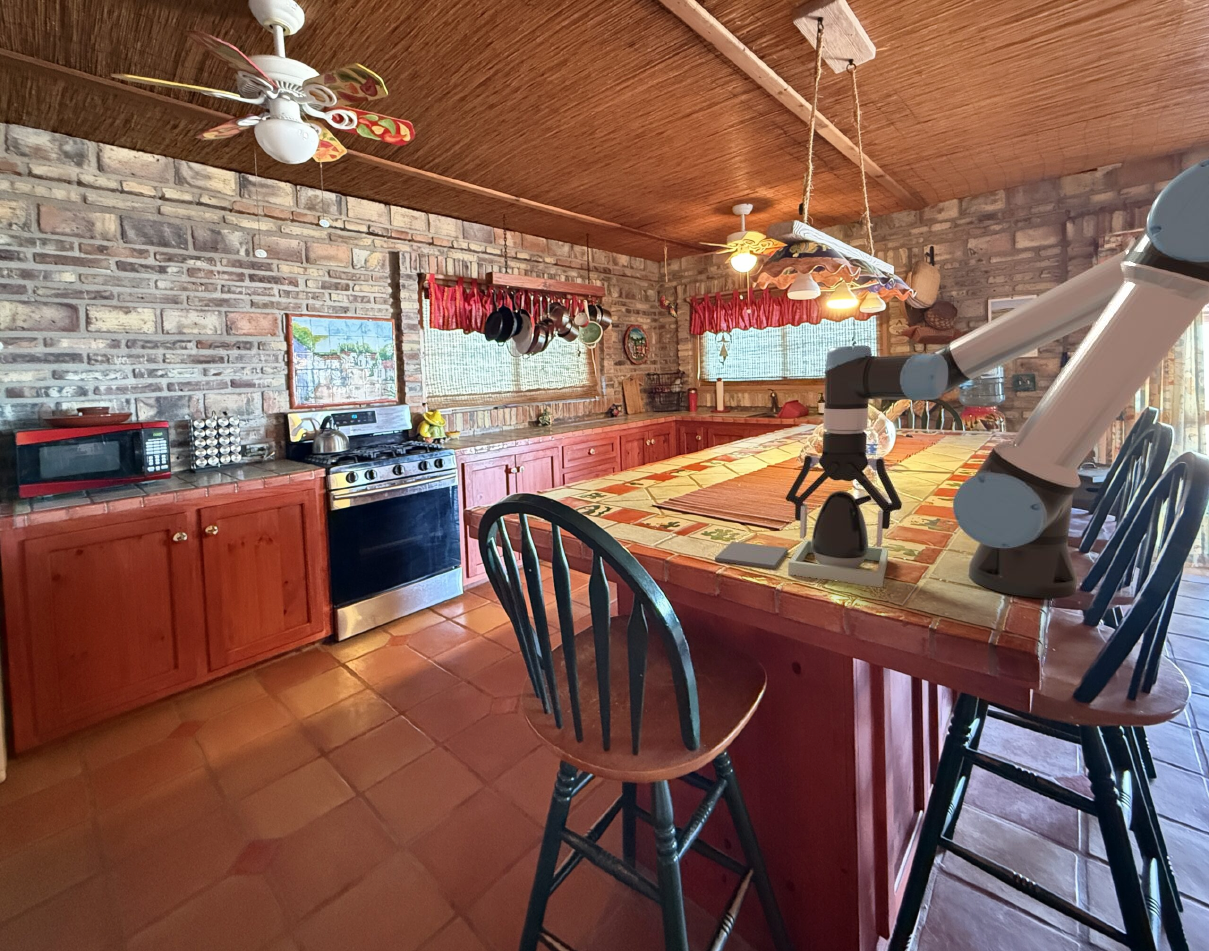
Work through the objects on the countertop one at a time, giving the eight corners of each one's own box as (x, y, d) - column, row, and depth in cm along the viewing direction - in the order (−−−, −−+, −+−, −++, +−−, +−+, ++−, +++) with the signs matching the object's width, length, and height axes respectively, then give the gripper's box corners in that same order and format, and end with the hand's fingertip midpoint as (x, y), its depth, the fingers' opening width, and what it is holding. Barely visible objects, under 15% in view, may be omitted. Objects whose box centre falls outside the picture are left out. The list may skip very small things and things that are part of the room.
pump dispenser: (874, 577, 103) (879, 497, 101) (815, 575, 105) (817, 496, 103) (861, 559, 113) (864, 485, 110) (807, 558, 115) (809, 485, 113)
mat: (787, 551, 120) (787, 547, 120) (774, 569, 110) (774, 565, 109) (732, 544, 126) (732, 541, 125) (714, 561, 115) (714, 557, 115)
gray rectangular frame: (887, 560, 112) (888, 548, 112) (882, 587, 99) (882, 574, 98) (803, 550, 120) (804, 539, 120) (788, 574, 106) (788, 562, 106)
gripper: (921, 430, 102) (913, 543, 105) (780, 427, 114) (778, 528, 118) (921, 434, 95) (913, 554, 99) (771, 431, 107) (769, 538, 111)
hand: (839, 540), depth 108 cm, fingers open, 13 cm apart
